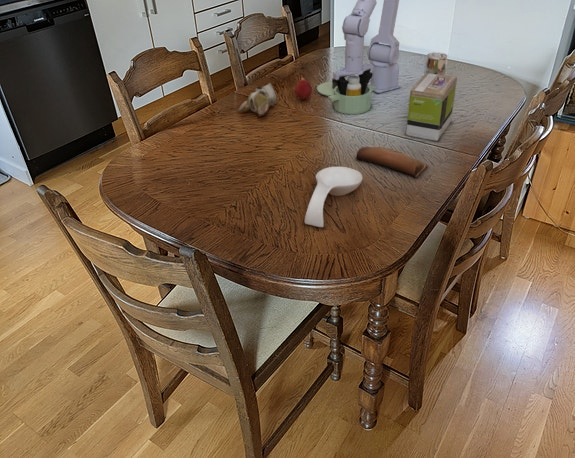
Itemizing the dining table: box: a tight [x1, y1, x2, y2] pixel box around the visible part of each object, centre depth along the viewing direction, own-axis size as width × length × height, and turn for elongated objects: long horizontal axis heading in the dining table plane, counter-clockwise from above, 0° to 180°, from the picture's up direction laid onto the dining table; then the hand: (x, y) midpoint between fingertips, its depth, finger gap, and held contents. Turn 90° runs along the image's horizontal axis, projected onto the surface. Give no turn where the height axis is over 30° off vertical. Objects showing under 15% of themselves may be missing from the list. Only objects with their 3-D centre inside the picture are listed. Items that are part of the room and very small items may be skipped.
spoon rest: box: [304, 166, 364, 228], centre depth 122 cm, size 24×12×7 cm, turn 157°
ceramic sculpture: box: [235, 82, 277, 117], centre depth 167 cm, size 11×9×15 cm
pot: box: [327, 85, 376, 115], centre depth 168 cm, size 12×18×6 cm
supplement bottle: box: [346, 75, 361, 96], centre depth 166 cm, size 5×5×10 cm
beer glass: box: [423, 52, 448, 76], centre depth 167 cm, size 7×7×15 cm
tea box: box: [405, 73, 458, 142], centre depth 150 cm, size 15×10×15 cm
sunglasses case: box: [355, 146, 427, 178], centre depth 137 cm, size 18×7×7 cm
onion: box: [294, 77, 313, 101], centre depth 173 cm, size 6×6×8 cm
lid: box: [316, 77, 337, 97], centre depth 180 cm, size 13×13×5 cm
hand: (352, 95), depth 167 cm, fingers open, 7 cm apart
